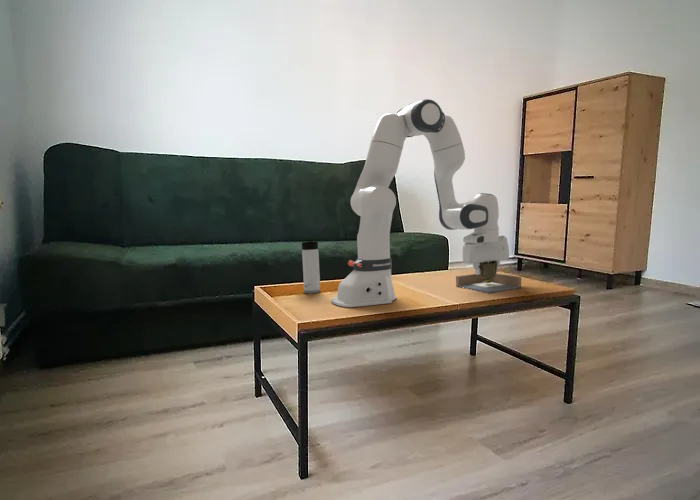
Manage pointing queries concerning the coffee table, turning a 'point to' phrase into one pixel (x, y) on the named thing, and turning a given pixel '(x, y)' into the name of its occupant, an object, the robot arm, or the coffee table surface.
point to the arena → (498, 284)
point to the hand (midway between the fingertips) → (486, 273)
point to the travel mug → (311, 267)
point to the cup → (488, 271)
